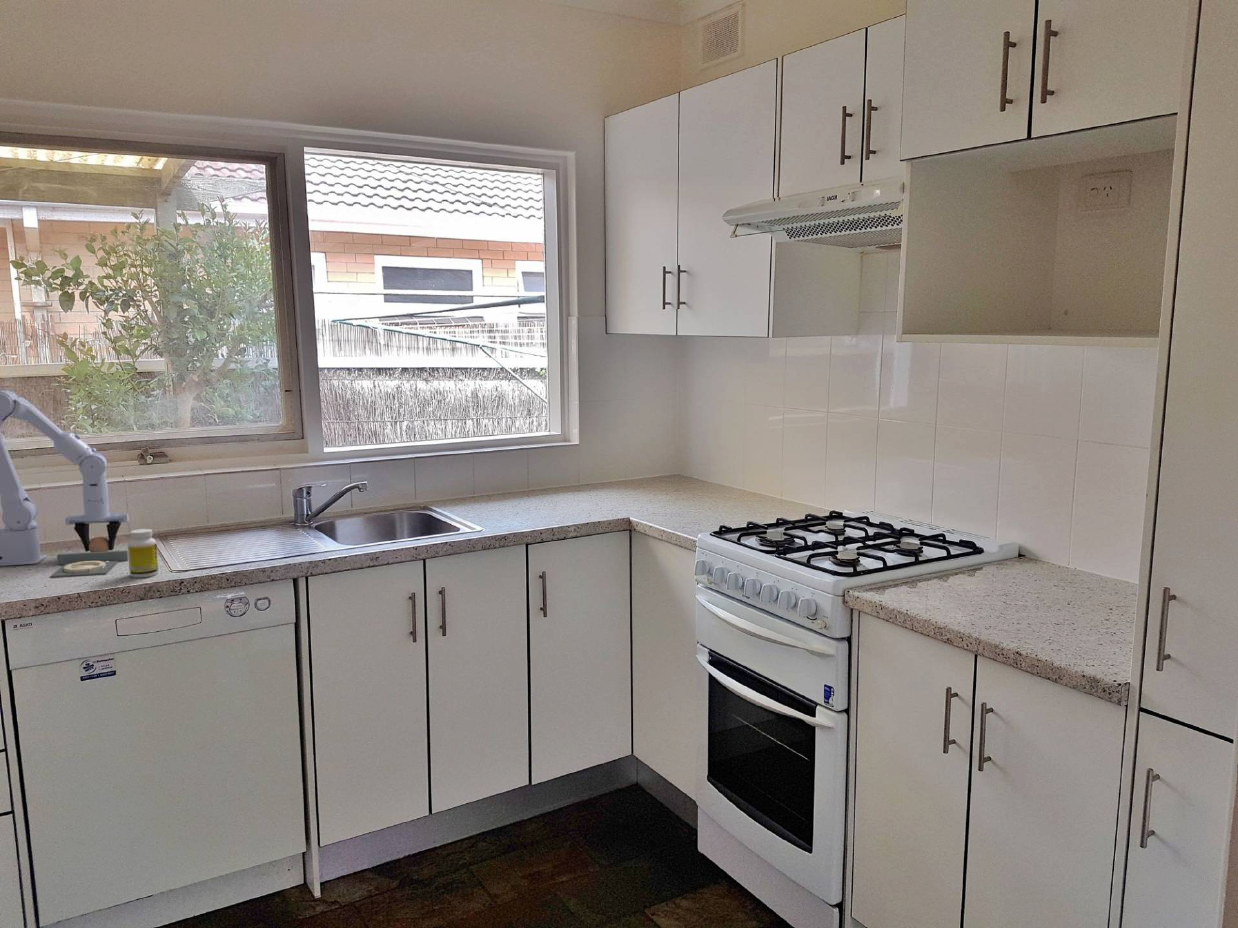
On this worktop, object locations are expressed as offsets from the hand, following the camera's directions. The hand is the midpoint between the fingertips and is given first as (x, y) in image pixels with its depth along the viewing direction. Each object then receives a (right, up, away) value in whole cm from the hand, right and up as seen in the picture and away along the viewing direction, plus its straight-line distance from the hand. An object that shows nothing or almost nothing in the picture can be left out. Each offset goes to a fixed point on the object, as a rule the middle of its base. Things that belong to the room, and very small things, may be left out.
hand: (99, 550), depth 242 cm
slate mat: (+4, -4, -14) cm, 15 cm away
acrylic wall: (+2, -3, -6) cm, 7 cm away
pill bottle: (+21, -5, -18) cm, 28 cm away
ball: (0, -1, 0) cm, 1 cm away
